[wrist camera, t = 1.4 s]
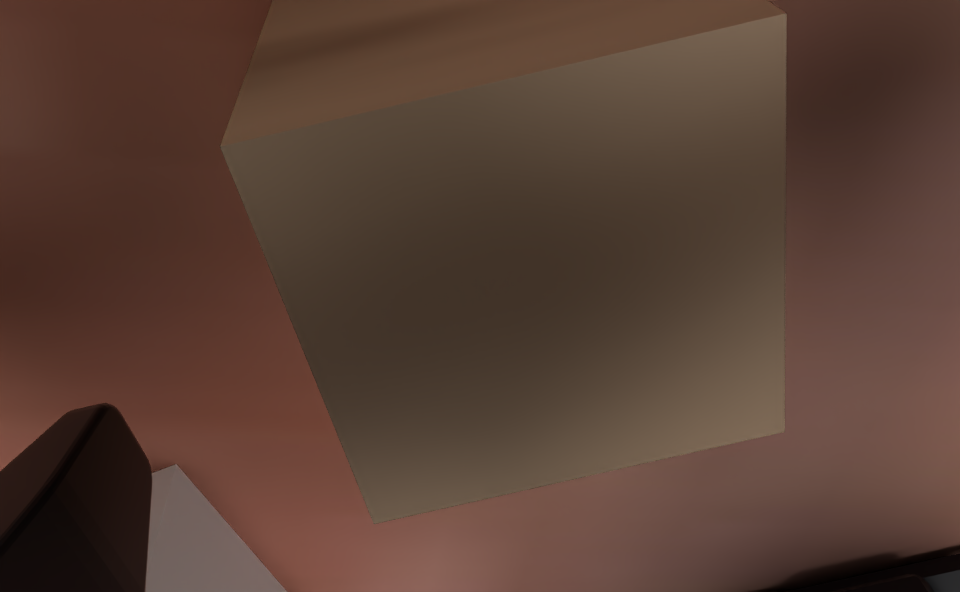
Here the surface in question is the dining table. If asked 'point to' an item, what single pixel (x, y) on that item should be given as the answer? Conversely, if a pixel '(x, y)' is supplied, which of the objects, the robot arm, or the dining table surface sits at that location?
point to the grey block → (197, 544)
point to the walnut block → (523, 231)
